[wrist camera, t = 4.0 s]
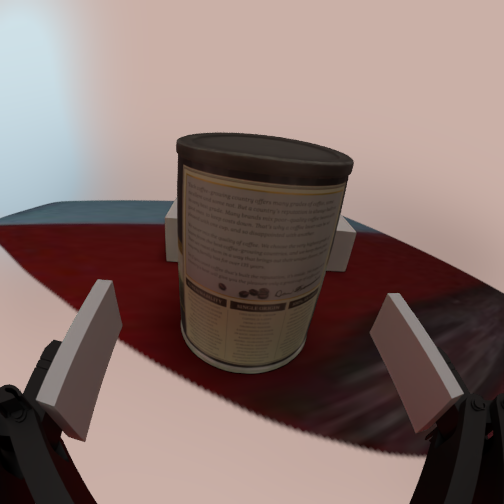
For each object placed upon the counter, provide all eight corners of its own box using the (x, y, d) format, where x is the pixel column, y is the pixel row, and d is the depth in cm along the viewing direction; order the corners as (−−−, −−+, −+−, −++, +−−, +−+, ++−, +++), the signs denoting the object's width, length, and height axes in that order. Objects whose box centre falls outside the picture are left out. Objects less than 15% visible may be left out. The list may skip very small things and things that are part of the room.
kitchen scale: (351, 271, 31) (364, 224, 29) (166, 261, 29) (164, 208, 26) (318, 220, 45) (325, 185, 42) (186, 210, 42) (187, 173, 40)
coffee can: (162, 304, 23) (156, 133, 16) (260, 277, 29) (280, 134, 22) (218, 397, 16) (233, 160, 9) (331, 342, 21) (387, 166, 15)
